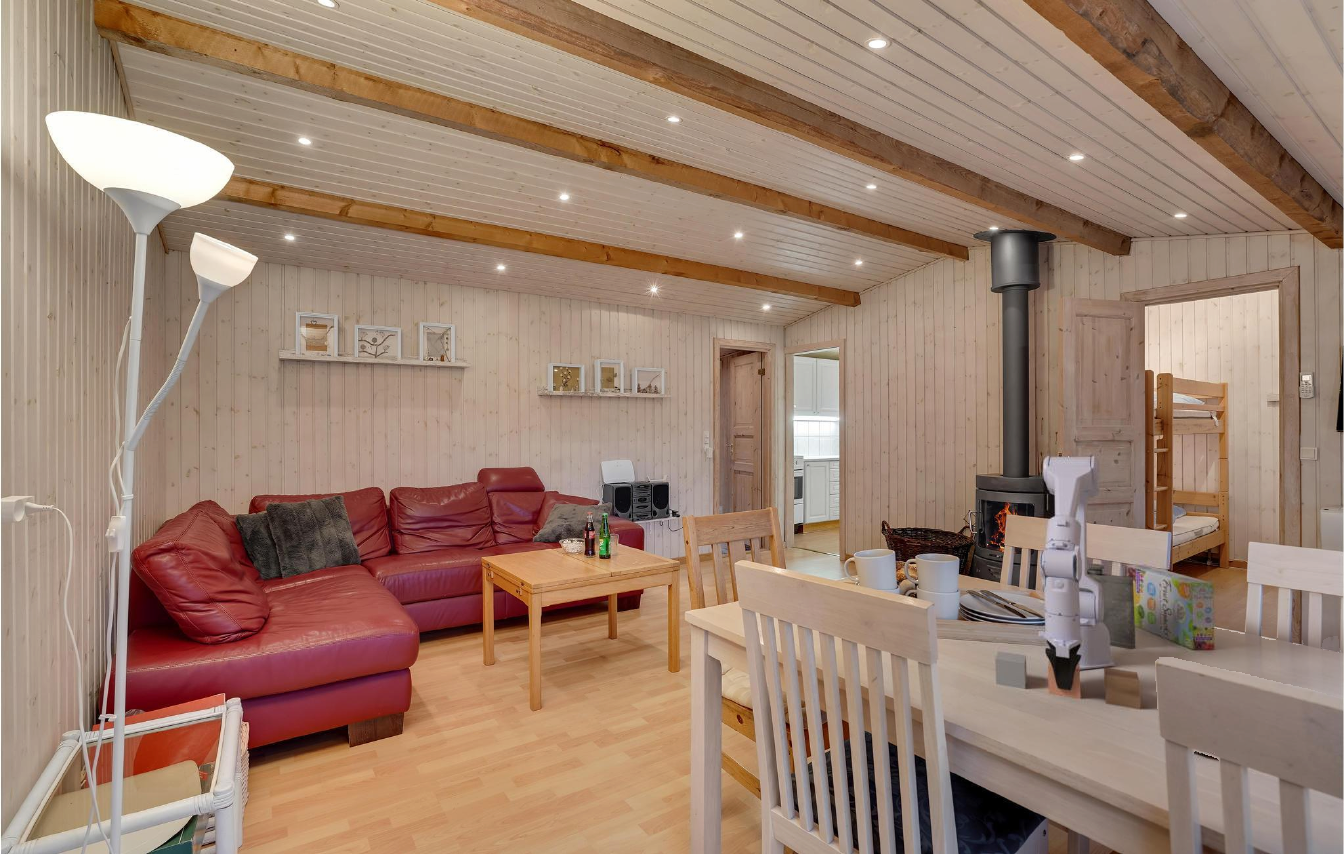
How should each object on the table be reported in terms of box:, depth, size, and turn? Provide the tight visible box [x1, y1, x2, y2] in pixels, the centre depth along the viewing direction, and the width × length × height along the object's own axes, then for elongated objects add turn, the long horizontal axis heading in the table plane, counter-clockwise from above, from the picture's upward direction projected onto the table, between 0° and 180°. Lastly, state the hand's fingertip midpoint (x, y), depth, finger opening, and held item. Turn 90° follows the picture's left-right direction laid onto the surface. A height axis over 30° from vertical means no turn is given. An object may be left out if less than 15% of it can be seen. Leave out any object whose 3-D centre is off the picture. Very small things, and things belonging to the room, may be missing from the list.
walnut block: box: [1103, 667, 1141, 710], centre depth 113 cm, size 5×5×5 cm
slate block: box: [994, 651, 1028, 690], centre depth 123 cm, size 5×5×5 cm
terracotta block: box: [1047, 660, 1081, 700], centre depth 118 cm, size 5×5×5 cm
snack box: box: [1124, 564, 1215, 651], centre depth 149 cm, size 21×6×15 cm, turn 179°
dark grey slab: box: [1079, 563, 1136, 650], centre depth 146 cm, size 4×14×18 cm, turn 36°
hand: (1064, 683), depth 118 cm, fingers closed on terracotta block, 5 cm apart
